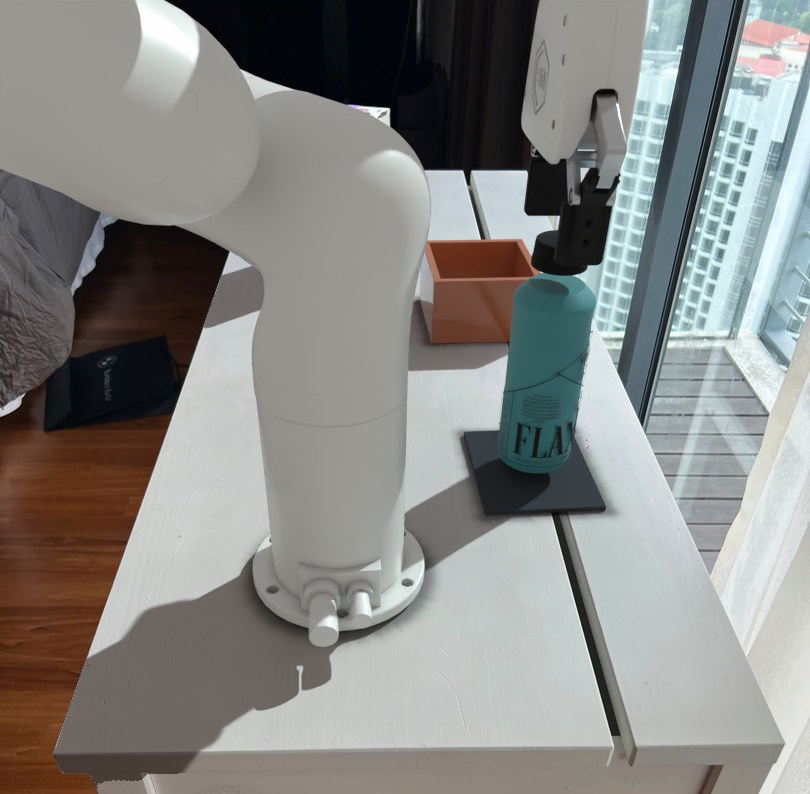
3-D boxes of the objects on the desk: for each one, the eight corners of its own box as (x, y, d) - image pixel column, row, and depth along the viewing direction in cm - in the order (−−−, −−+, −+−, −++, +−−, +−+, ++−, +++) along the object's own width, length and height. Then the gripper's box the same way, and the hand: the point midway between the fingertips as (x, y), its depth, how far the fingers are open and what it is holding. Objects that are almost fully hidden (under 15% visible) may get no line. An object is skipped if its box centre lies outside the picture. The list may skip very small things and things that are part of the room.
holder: (536, 341, 92) (544, 279, 87) (431, 343, 91) (433, 281, 86) (515, 296, 101) (521, 238, 96) (419, 298, 100) (421, 240, 95)
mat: (605, 510, 69) (606, 506, 69) (485, 515, 68) (485, 511, 68) (569, 431, 78) (570, 427, 78) (463, 435, 77) (463, 431, 77)
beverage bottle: (498, 490, 70) (524, 253, 57) (489, 446, 75) (511, 220, 62) (575, 489, 70) (619, 254, 57) (561, 445, 75) (598, 220, 63)
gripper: (511, -70, 55) (487, 198, 66) (578, -43, 42) (534, 287, 53) (622, -66, 56) (580, 198, 67) (722, -39, 43) (649, 286, 53)
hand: (560, 237), depth 60 cm, fingers open, 9 cm apart
